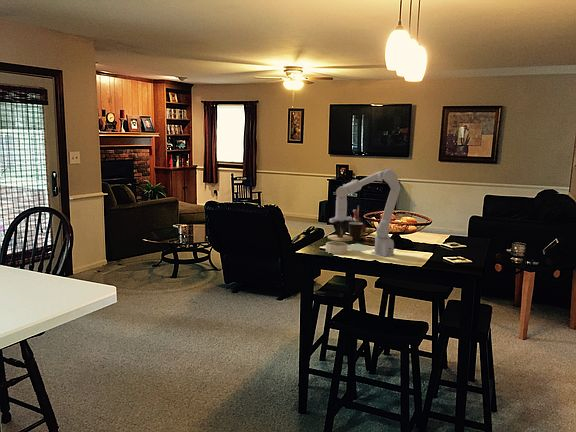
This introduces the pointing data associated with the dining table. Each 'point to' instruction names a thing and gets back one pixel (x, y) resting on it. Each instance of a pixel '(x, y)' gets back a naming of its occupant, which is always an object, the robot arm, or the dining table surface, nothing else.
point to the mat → (359, 247)
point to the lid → (340, 237)
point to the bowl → (336, 247)
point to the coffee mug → (355, 230)
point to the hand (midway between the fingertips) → (340, 234)
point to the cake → (358, 219)
